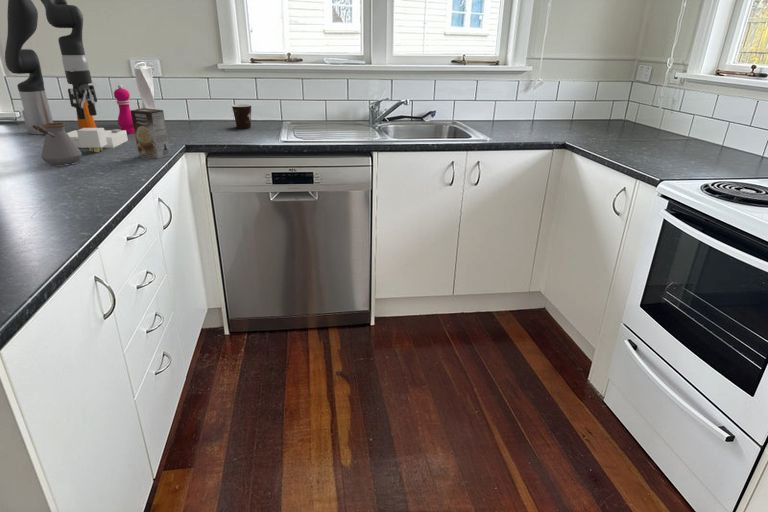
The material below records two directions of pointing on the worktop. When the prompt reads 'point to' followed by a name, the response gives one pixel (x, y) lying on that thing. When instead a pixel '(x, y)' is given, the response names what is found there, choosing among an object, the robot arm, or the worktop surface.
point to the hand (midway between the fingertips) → (87, 117)
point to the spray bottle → (89, 119)
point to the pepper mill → (124, 110)
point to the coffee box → (150, 133)
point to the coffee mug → (242, 115)
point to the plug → (91, 138)
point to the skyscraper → (145, 86)
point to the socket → (112, 138)
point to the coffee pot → (58, 145)
